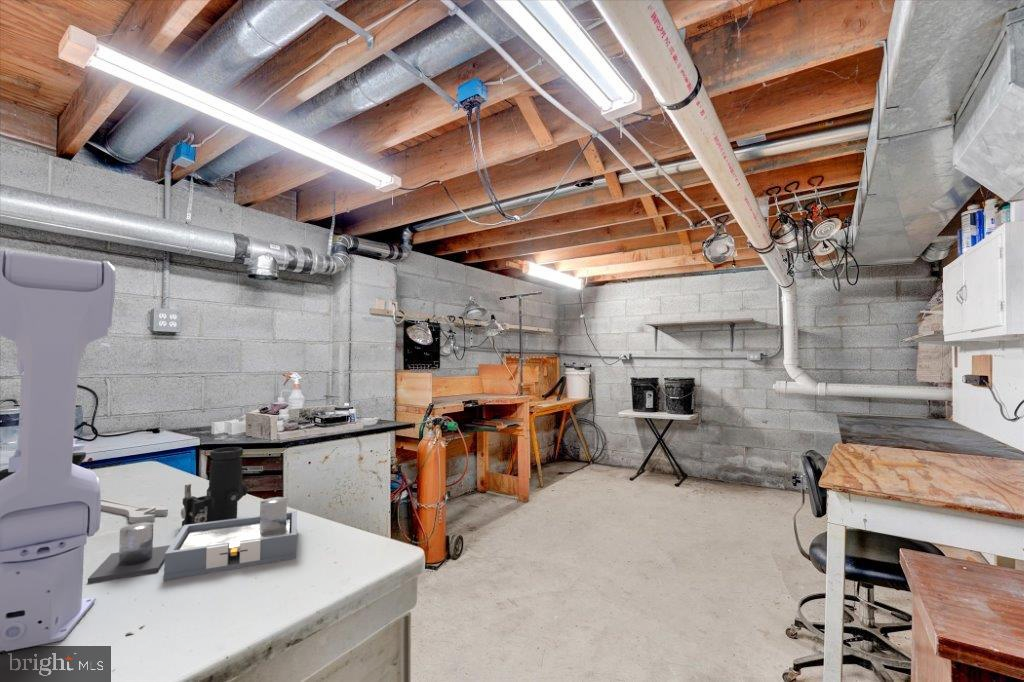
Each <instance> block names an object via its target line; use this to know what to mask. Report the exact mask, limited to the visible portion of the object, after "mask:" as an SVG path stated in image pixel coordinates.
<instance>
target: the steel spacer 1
mask: <svg viewBox="0 0 1024 682" xmlns="http://www.w3.org/2000/svg"><path fill="white" fill-rule="evenodd" d="M118 546H119V547H118V548H119V550H118V552H119V565H120V566H131V565H137V564H140V563H143V562H146V561H148V560H150V559H151V558H152V554H153V548H154V523H153V522H144V523H136V524H133V523H131V524H128V525H125V526H123V527H121V528H120V529H119V544H118Z"/></svg>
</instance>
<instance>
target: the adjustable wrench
mask: <svg viewBox="0 0 1024 682" xmlns="http://www.w3.org/2000/svg"><path fill="white" fill-rule="evenodd" d="M101 511H104V512H108V513H113V514H117V515H121V516H122V515H123V516H126V517H128V523H130V524H136V523H144V522H150V523H153V522H155V521H156V517H166V516H168V514H169V513H168V511H169V507H167V506H164V505H162V504H159V505H151V506H139V505H138V506H137V505H133V504H128V503H125V502H124V503H123V502H120V501H114V500H110V499H104V498H101Z"/></svg>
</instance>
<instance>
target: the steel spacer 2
mask: <svg viewBox="0 0 1024 682" xmlns="http://www.w3.org/2000/svg"><path fill="white" fill-rule="evenodd" d="M259 507H260V509H259V516H260V534H262V535H274V534H279V533H281V532H284V531H285V530H286V522H287V512H288V509H287V508H288V498H286V497H285V496H284V497H282V496H275V497H268V498H265V499H262V500H261V501H260V505H259Z"/></svg>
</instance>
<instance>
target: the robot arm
mask: <svg viewBox="0 0 1024 682" xmlns="http://www.w3.org/2000/svg"><path fill="white" fill-rule="evenodd" d="M115 297H116V269H115V266H113V265H112V264H111V263H110V261H107V260H102V261H95V260H85V259H77V258H69V257H62V256H61V257H60V256H54V255H53V256H51V255H42V254H34V253H26V252H25V253H24V252H17V251H10V250H9V251H6V249H5V248H0V336H1V337H3V338H5V339H8V340H11V341H12V342H14V344H15V345H16V348H17V356H16V358H17V359H16V360H17V361H16V367H17V372H18V374H19V375H21V374H23V375H21V376H20V396H19V416H18V439H17V449H15V451H14V454H13V456H10V457H9V458H8V468H3V469H1V470H0V650H5V651H6V652H10V651H15V650H20V649H25V648H30V647H36V646H40V645H46V644H51V643H56V642H59V641H62V640H64V639H65V638H66V637H67V636H68V634H69V633H70V632H71V631H72V630H73V628H75V626H76V624H77V623H78V622H79V621H80V620H81V619H82V617H83V616H84V615H85V614H86V612H87V611H88V610H89V609H90V608H91V607H92V605H93V604H94V603H95V601H96V600H97V599H96V598H97V597H95V596H91V597H85V598H84V597H83V585H84V584H83V583H84V581H83V579H84V560H85V559H84V557H85V556H84V555H85V554H84V553H85V545H87V538H89V537H94V535H95V534H96V533H97V532H98V531H100V526H101V517H102V516H101V515H102V512H101V511H102V510H101V499H102V498H101V494H102V493H101V481H100V477H98V476H97V473H96V472H95V471H93V470H91V469H88V468H85V467H82V466H81V464H82V463H83V461H85V459H86V456H87V453H86V452H84V451H82V452H81V450H83V449H84V446H85V445H84V443H80V444H78V438H75V422H76V421H75V420H76V407H77V394H78V393H77V392H78V382H79V381H78V379H79V374H80V373H79V372H80V369H81V367H82V366H81V365H82V358H83V356H84V353H85V351H86V349H87V346H88V344H90V343H92V342H94V341H98V340H100V339H103V338H105V337H108V335H109V328H111V327H112V323H113V322H112V321H113V310H114V303H115ZM77 451H78V452H77Z"/></svg>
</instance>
